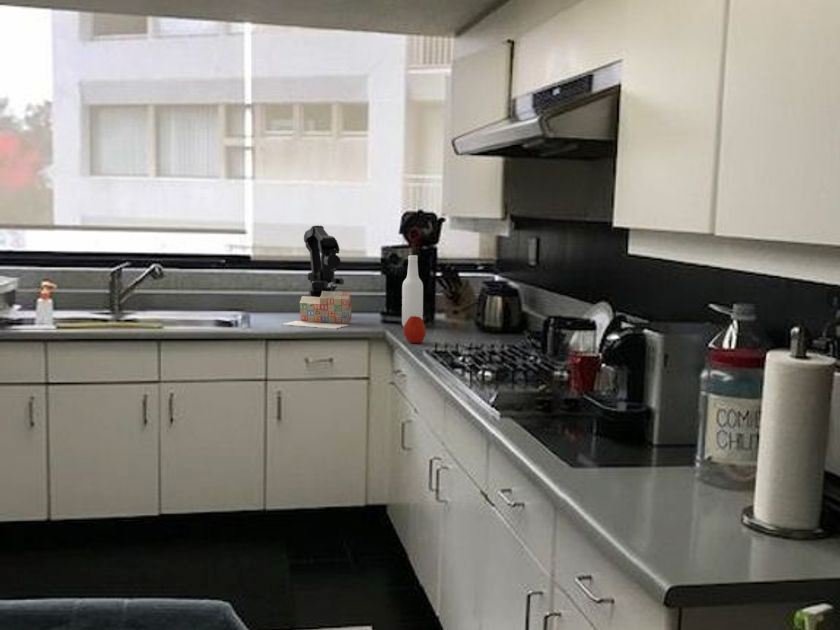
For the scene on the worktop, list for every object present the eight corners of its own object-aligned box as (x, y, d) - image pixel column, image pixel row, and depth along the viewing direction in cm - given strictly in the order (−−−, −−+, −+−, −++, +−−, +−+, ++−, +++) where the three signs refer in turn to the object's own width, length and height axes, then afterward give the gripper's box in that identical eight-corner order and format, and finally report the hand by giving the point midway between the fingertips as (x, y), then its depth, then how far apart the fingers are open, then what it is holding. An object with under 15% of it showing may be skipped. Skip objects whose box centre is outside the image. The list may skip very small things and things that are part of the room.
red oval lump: (400, 343, 340) (400, 315, 339) (408, 340, 348) (408, 312, 347) (420, 345, 338) (421, 316, 336) (428, 341, 345) (429, 313, 344)
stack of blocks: (300, 321, 393) (298, 296, 386) (303, 314, 398) (301, 289, 392) (349, 324, 390) (348, 299, 384) (351, 316, 396) (350, 291, 390)
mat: (295, 321, 396) (295, 320, 396) (348, 325, 386) (348, 324, 386) (281, 325, 385) (281, 324, 385) (335, 329, 375) (335, 328, 375)
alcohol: (397, 326, 385) (398, 255, 381) (410, 324, 391) (411, 254, 388) (414, 328, 379) (414, 256, 375) (426, 326, 386) (427, 255, 382)
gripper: (321, 264, 404) (322, 299, 406) (300, 267, 387) (300, 303, 389) (344, 265, 400) (344, 300, 402) (323, 268, 383) (323, 305, 385)
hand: (327, 302), depth 395 cm, fingers closed
